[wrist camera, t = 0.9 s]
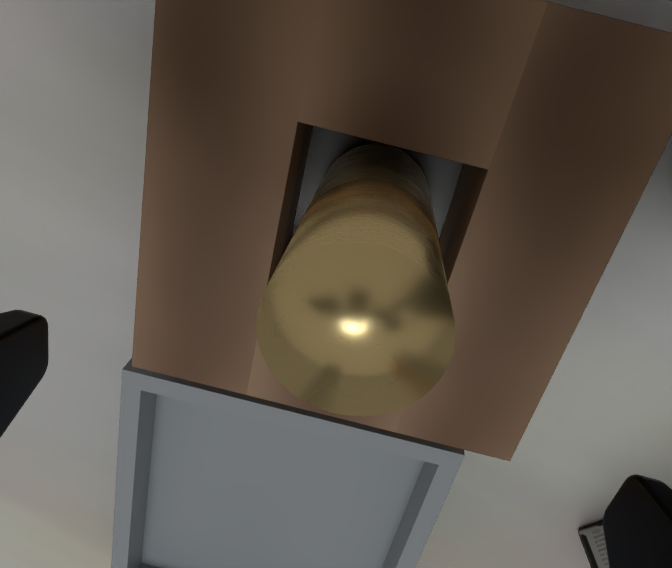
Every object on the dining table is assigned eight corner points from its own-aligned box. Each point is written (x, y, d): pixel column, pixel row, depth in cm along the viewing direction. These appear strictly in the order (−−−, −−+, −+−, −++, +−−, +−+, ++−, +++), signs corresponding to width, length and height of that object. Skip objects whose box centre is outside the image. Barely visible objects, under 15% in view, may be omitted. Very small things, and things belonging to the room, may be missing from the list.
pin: (443, 159, 19) (484, 272, 10) (411, 260, 21) (421, 435, 12) (333, 132, 19) (274, 219, 10) (311, 235, 21) (242, 390, 12)
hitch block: (647, 42, 17) (716, 43, 13) (492, 393, 23) (509, 461, 19) (213, -67, 17) (162, -96, 13) (174, 313, 23) (131, 366, 19)
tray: (458, 414, 23) (464, 455, 21) (373, 619, 30) (370, 667, 28) (149, 337, 23) (122, 369, 21) (130, 559, 30) (109, 601, 28)
